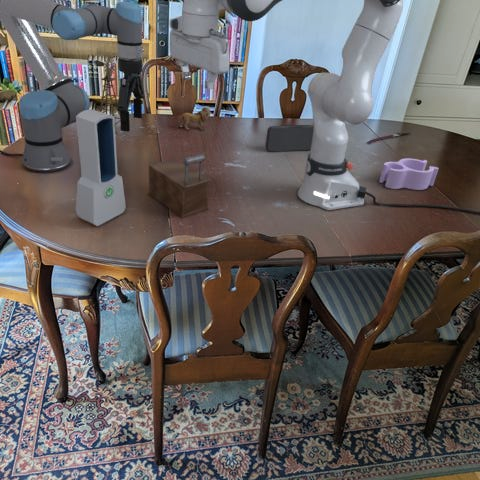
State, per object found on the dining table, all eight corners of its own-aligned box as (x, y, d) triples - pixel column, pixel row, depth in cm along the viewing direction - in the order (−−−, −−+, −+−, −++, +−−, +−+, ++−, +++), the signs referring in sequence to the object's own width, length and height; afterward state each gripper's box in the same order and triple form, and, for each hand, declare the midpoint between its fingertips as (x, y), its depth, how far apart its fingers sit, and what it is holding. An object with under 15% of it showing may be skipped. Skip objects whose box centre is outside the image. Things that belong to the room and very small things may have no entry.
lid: (210, 182, 138) (211, 155, 134) (184, 190, 133) (185, 162, 128) (174, 161, 149) (174, 135, 144) (148, 167, 143) (148, 140, 138)
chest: (207, 208, 144) (208, 182, 139) (182, 217, 138) (182, 189, 133) (173, 187, 154) (174, 161, 149) (149, 194, 148) (148, 167, 143)
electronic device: (94, 228, 128) (85, 122, 112) (75, 219, 131) (63, 114, 115) (126, 211, 138) (122, 111, 121) (108, 203, 141) (101, 104, 124)
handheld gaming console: (315, 147, 196) (319, 124, 190) (317, 149, 194) (322, 126, 188) (264, 149, 189) (267, 125, 183) (266, 152, 187) (269, 127, 181)
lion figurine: (207, 125, 206) (208, 105, 201) (211, 129, 202) (212, 109, 197) (174, 126, 201) (175, 106, 196) (177, 131, 197) (178, 110, 192)
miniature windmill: (115, 134, 188) (111, 55, 172) (96, 130, 189) (89, 52, 173) (124, 127, 195) (121, 51, 179) (105, 123, 196) (100, 48, 180)
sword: (405, 131, 223) (406, 129, 223) (410, 133, 221) (411, 131, 221) (362, 143, 208) (363, 140, 207) (367, 145, 206) (368, 143, 205)
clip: (392, 192, 166) (397, 174, 162) (373, 176, 175) (377, 159, 172) (437, 188, 172) (443, 171, 168) (416, 174, 182) (422, 157, 178)
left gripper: (129, 68, 135) (131, 138, 146) (152, 51, 156) (152, 114, 167) (104, 65, 135) (107, 135, 147) (130, 49, 156) (132, 111, 167)
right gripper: (237, 33, 109) (233, 92, 117) (185, 18, 121) (184, 73, 129) (217, 34, 106) (213, 96, 113) (165, 19, 118) (165, 75, 125)
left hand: (131, 124), depth 157 cm, fingers open, 13 cm apart
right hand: (197, 83), depth 121 cm, fingers open, 8 cm apart
